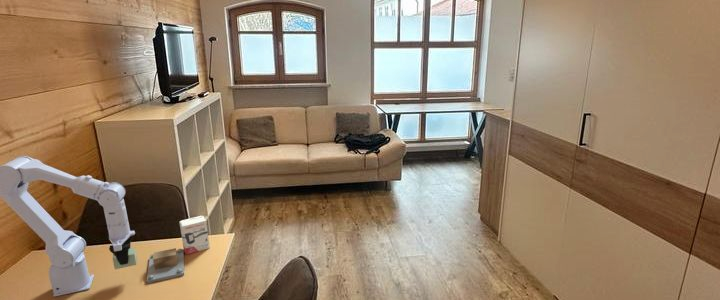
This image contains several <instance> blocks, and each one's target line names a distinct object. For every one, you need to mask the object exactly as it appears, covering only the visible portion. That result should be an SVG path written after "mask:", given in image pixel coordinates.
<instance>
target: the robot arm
mask: <svg viewBox="0 0 720 300" xmlns="http://www.w3.org/2000/svg"><path fill="white" fill-rule="evenodd" d="M39 180H41V181H44V182H48V183H52V184H55V185H58V186H62V187H63V186H64V187H66V188H70V189H71V191H72V192H73V194H75V195H79V196H82V197H85V198H88V199H91V200H93V201H94V200H95V201H97V202H98V204H99V206H102V208H103V212H104V217H105V222H106V226H107V231H108V240H109V241H110V242H111V245H109V248H108V249H109V252H110V253H112V254H114V255H115V256H116V258H117V260H118V262H119V263H120V265H124V264H128V251H129V248H131V241H132V238H133V236H134V235H135V234H136V232H135V230H131V228H130V223H129V219H128V213H127V208H126V203H125V199H124V197H125V196H126V188H125V187H124V186H123V185H122V184H120V183H119V182H117V181H116V182H108V181H105V182H104V181H103V180H98V179H96V178H93V176H92V175H89V174H87V175H80V176H75V175H73V174H70V173H68V172H64V171H62V170H60V169H57V168H55V167H52V166H50V165H47V164H44V163H43V162H42V161H41V160H39V159H38V158H37V159H36V158H32V157H30V156H28V155H20V156H17V157H15V158H14V159H12V160H10V161H9V162H7V163H5V164H3V165H0V197H1V199H2V200H3V201H4V202H5V203H6V204H7V206H8V207H10V209H12V210H13V212H14V213H16V214H17V215H18V216H19V217H20V219H21V220H22V221H23V222H24V223H26V225H27V226H29V228H30V229H32V230H33V231H34V233H35V234H36V235H38V237H39V238H40V239H41V240H42V241H43V242H44V243H45V250H44V252H45V254H46V255H47V256H48V258H49V261H50V263H51V265H50V266H49V268H48V277H49V281H50V285H51V289H52V292H53V297H59V296H63V295H67V294H72V293H77V292H81V291H87V290H89V289H90V288H91V286H92V282H93V280H94V277H95V275H94V273H93V274H90V273H89V268H88V264H87V260H86V256H85V253H84V250H85V249H86V247H87V242H86V240H85V239H84V238H83V237H81V236H79V235H77V234H75V233H74V232H73V230H65V229H63V227H62V226H61V225H60V224H59V223H58V222H57V221H56V220H55V219H54V218H53V217H52V216H51V215H50V214H49V213H48V212H47V210H45V209H44V208H43V206H41V205H40V203H39V202H38V201H37V200H36V199H35V198H34V197H33V196H32V195H31V194H30V192H28V187H29V184H30V183H31V182H35V181H39Z"/></svg>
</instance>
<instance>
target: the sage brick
mask: <svg viewBox="0 0 720 300" xmlns="http://www.w3.org/2000/svg"><path fill="white" fill-rule="evenodd" d="M112 254H113V253H112ZM112 262H113V263H112V264H113V267H114V270H120V269H123V268H124V269H125V268H128V267H132V266H133V267H134V266H136V265H137V262H138V255H137V251H136V247H130V248H129V251H128V264H124V265H120V263H119V262H118V260H117V258H116V256H115V255H114V254H113V255H112Z"/></svg>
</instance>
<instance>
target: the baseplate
mask: <svg viewBox="0 0 720 300" xmlns="http://www.w3.org/2000/svg"><path fill="white" fill-rule="evenodd" d="M176 251H177V257H178V265H174V266H170V267H165V268H160V269H156V270H155V268H154V262H153V255H154V253H152V254H151V255H150V256H149V260H148V269H147V275H146V276H147V277H146V284H150V283H156V282H161V281H165V280H168V279H173V278H178V277H182V276H185V251H184V248H178V249H176Z"/></svg>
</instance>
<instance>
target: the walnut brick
mask: <svg viewBox="0 0 720 300" xmlns="http://www.w3.org/2000/svg"><path fill="white" fill-rule="evenodd" d="M176 250H177V248H171V249H170V248H169V249H166V250H165V249H164V250H160V251H154V252H153V254H154V255H153V262H154V268H155V270H156V269H160V268H165V267H170V266H174V265H178V257H177V251H176Z"/></svg>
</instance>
